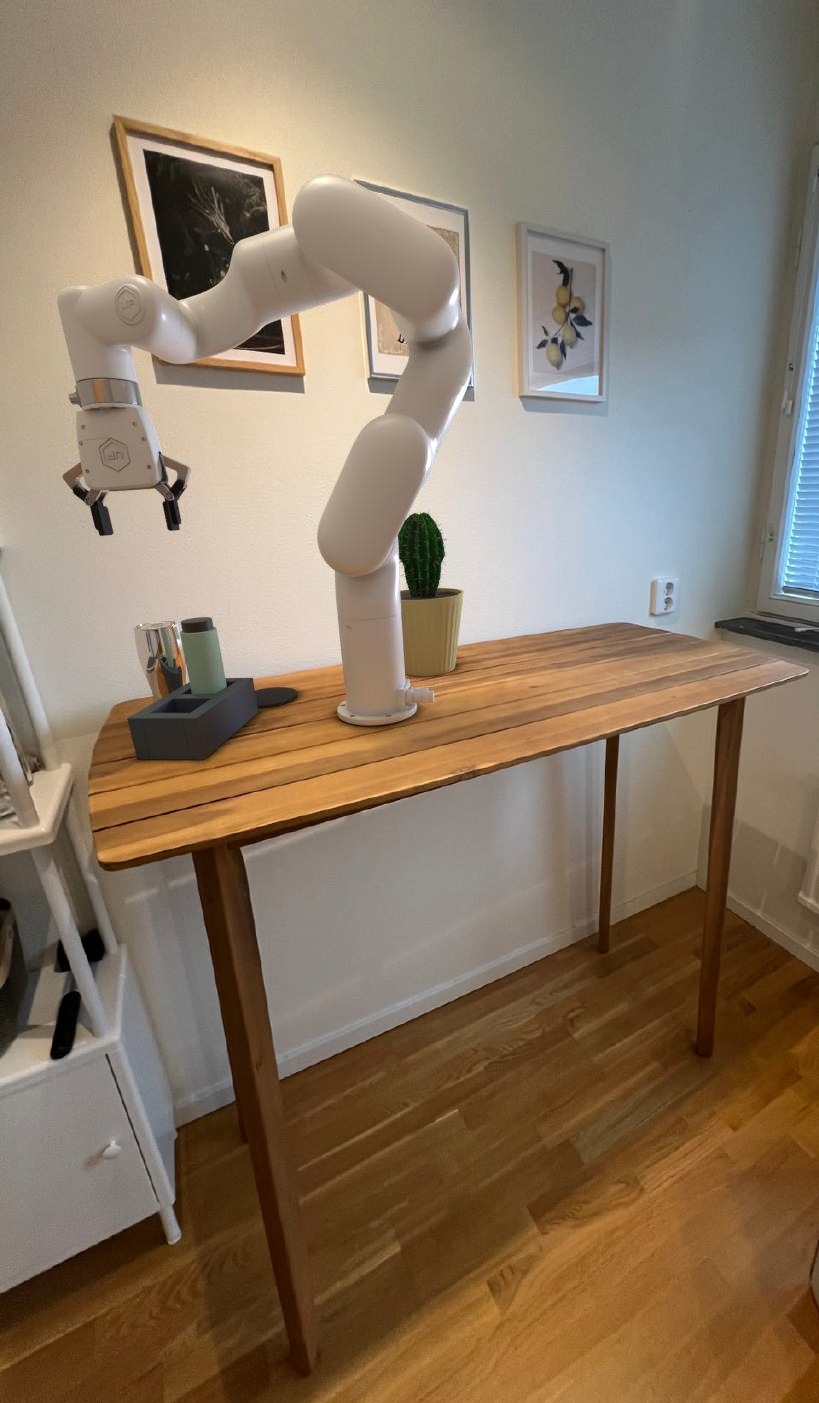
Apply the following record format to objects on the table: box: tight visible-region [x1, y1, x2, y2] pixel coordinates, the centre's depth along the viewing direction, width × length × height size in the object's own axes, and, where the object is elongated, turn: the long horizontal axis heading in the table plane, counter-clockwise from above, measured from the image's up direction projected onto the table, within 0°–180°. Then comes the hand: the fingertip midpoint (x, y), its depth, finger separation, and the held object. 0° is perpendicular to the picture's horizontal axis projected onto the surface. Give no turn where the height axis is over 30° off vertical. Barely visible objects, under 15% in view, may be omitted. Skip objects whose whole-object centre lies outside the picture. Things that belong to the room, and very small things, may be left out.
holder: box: [126, 677, 259, 761], centre depth 82 cm, size 10×18×6 cm, turn 172°
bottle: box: [179, 616, 227, 694], centre depth 84 cm, size 5×5×16 cm
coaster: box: [255, 686, 299, 709], centre depth 97 cm, size 10×10×1 cm
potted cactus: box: [398, 509, 464, 677], centre depth 105 cm, size 15×15×30 cm
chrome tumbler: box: [133, 620, 187, 703], centre depth 90 cm, size 7×7×15 cm
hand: (140, 532), depth 80 cm, fingers open, 9 cm apart
